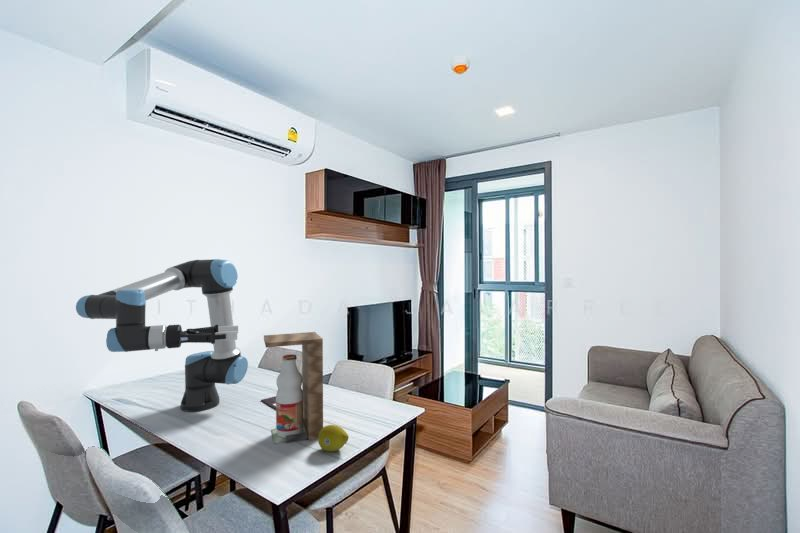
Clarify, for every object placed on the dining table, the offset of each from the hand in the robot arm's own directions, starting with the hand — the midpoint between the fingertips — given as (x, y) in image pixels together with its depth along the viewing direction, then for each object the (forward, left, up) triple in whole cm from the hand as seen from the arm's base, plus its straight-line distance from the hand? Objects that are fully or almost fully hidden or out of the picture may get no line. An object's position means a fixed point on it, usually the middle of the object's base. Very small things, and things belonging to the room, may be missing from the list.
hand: (237, 332), depth 130 cm
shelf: (+17, +4, -38) cm, 42 cm away
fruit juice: (+17, +4, -38) cm, 42 cm away
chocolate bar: (+7, +36, -39) cm, 54 cm away
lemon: (+33, -11, -38) cm, 52 cm away
